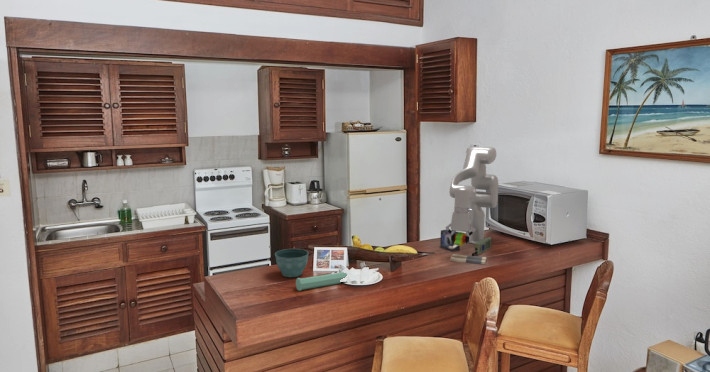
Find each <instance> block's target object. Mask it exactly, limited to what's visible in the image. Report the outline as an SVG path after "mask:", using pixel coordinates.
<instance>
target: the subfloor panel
mask: <svg viewBox="0 0 710 372" xmlns="http://www.w3.org/2000/svg"><path fill="white" fill-rule="evenodd" d="M450 262H457V263H464V264H465V263H466V264H477V265H486V262H487V256H479V255H477V256H476V255H474V256H472V255H469V254H468V255H466V254H456V253H452V255H451V257H450Z"/></svg>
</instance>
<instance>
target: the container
mask: <svg viewBox="0 0 710 372" xmlns="http://www.w3.org/2000/svg"><path fill="white" fill-rule="evenodd" d="M347 275H348V273H347V272H345V273H344V271H342V272H335V273H334V272H333V273H327V274H321V275H315V276H310V277H309V276H308V277H302V278H300V277H296V280H295V287H296V290H297V291H299V292H301V291H302V290H303V291H304V290H309V289H315V288H321V287H322V288H323V287H326V286H333V285H337V284H342V283H341V282H340V280H341V279H343V278H345V277H346V276H347Z"/></svg>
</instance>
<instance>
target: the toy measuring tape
mask: <svg viewBox="0 0 710 372" xmlns="http://www.w3.org/2000/svg"><path fill="white" fill-rule="evenodd" d="M457 232H458V233H457V234H456V235H455V236H454V241H455V242H454V246H452V247H451V246H449V249H453V248H455V247H457V246H460V247H462V246H463V245H465V244H466V236H467V234H466V232H462V231H457Z"/></svg>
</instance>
